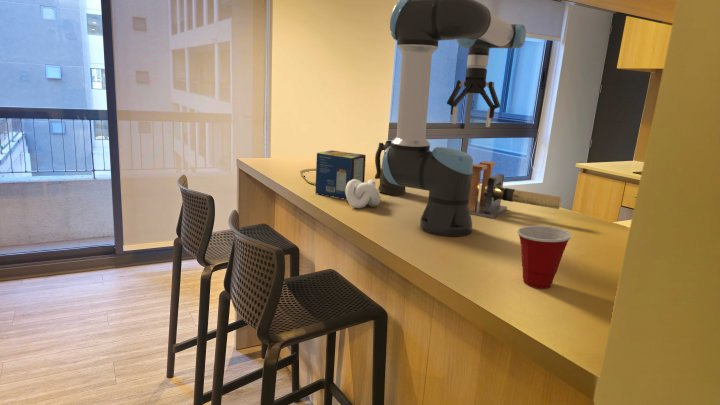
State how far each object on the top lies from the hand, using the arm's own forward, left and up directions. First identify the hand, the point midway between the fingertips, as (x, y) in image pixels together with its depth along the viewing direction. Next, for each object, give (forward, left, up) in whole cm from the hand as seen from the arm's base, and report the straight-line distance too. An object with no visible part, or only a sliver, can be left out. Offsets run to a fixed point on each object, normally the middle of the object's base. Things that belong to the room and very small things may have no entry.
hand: (470, 125), depth 176 cm
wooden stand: (-18, -12, -28) cm, 35 cm away
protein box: (-34, +36, -28) cm, 57 cm away
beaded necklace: (-14, +58, -28) cm, 66 cm away
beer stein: (-16, +25, -28) cm, 41 cm away
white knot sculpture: (-43, +21, -28) cm, 56 cm away
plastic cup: (-73, -43, -28) cm, 90 cm away
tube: (-18, -26, -23) cm, 39 cm away
